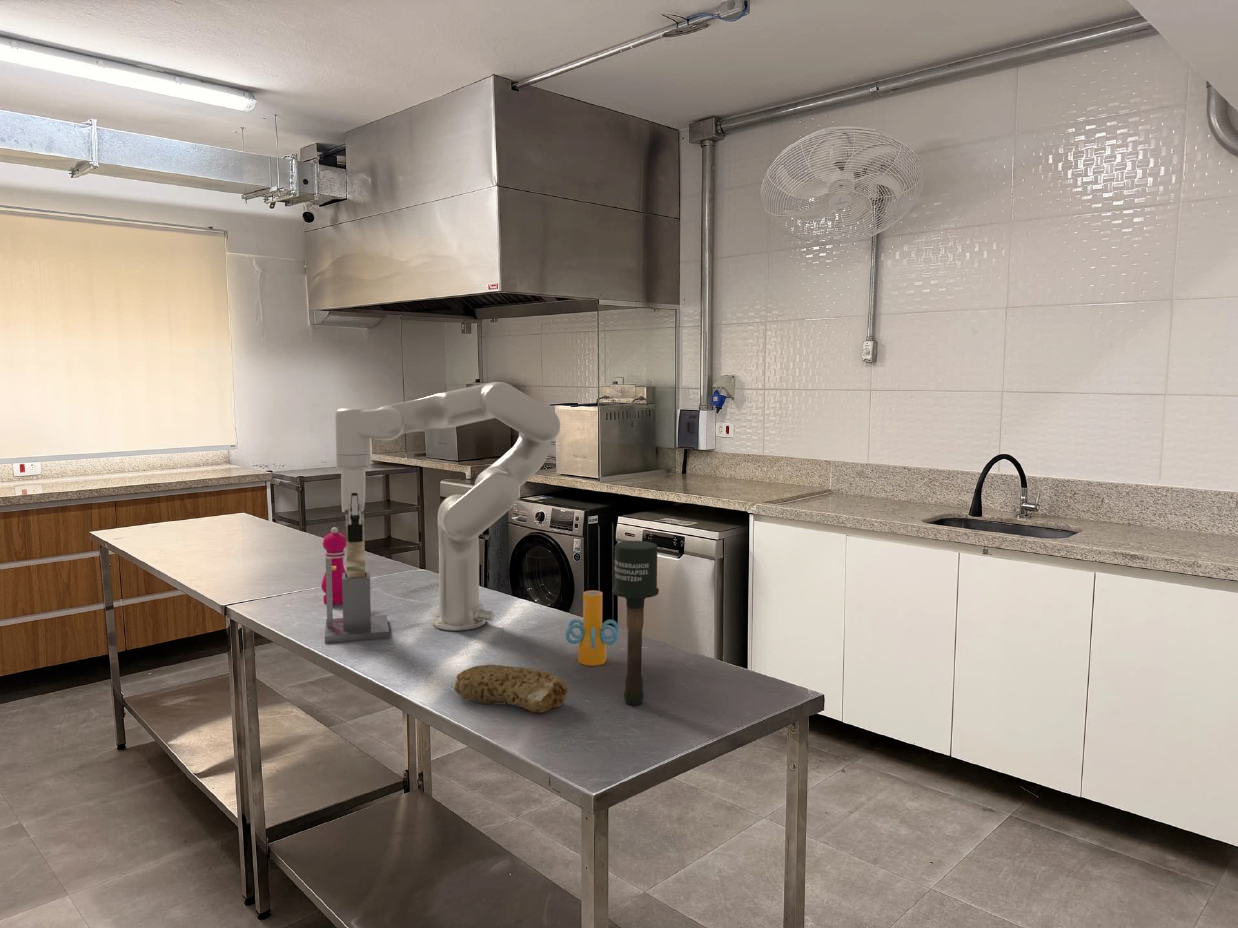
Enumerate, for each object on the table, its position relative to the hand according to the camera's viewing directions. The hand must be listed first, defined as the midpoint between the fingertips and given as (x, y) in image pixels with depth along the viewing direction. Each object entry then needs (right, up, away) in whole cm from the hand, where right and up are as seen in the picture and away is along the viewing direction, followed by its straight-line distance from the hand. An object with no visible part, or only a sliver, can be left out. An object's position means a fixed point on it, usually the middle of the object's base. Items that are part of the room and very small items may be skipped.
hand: (355, 538), depth 192 cm
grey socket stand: (0, -22, +2) cm, 22 cm away
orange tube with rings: (+56, -25, -16) cm, 63 cm away
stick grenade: (+64, -27, -38) cm, 79 cm away
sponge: (+41, -27, -39) cm, 63 cm away
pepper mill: (-14, -19, +28) cm, 37 cm away
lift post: (0, -14, +2) cm, 14 cm away
